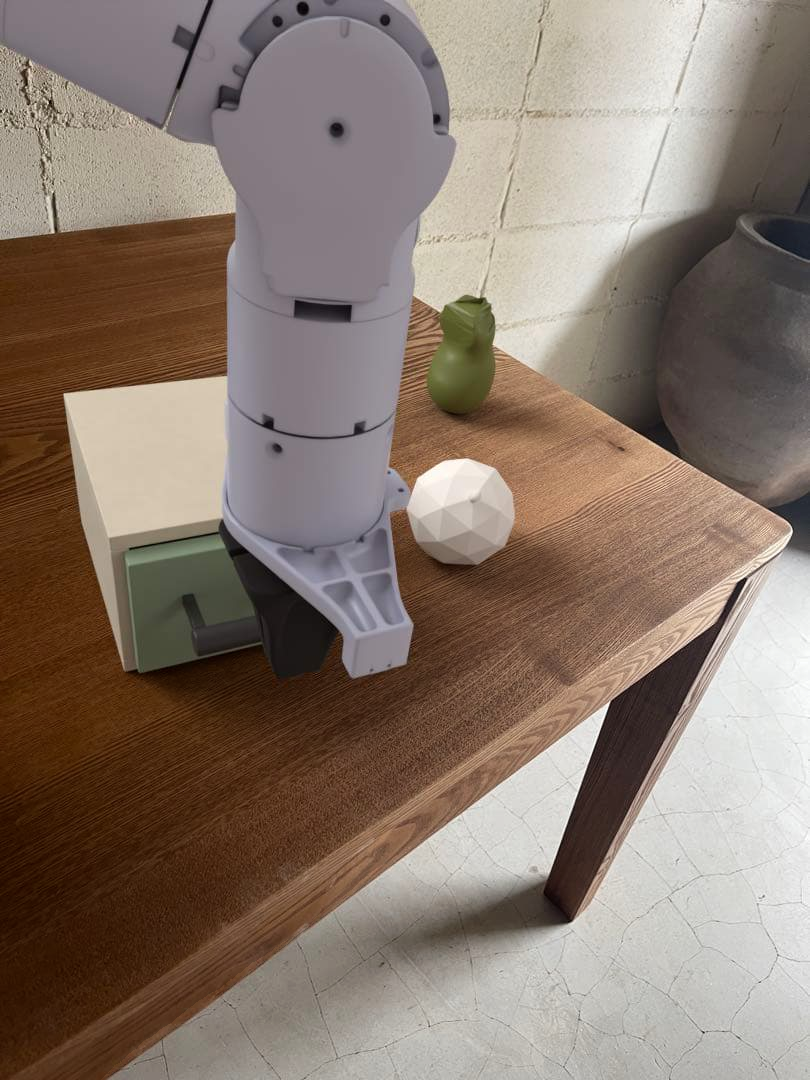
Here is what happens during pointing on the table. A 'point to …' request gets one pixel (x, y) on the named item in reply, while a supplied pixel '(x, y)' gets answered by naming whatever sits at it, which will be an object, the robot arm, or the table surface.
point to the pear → (463, 356)
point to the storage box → (145, 475)
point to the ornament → (461, 512)
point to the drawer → (186, 602)
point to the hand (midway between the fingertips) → (294, 663)
